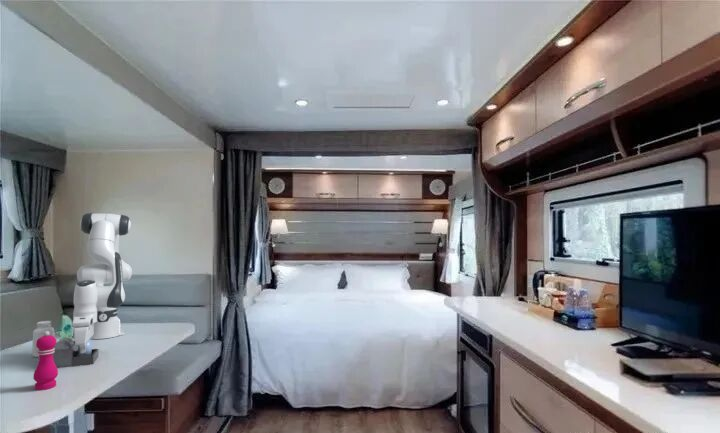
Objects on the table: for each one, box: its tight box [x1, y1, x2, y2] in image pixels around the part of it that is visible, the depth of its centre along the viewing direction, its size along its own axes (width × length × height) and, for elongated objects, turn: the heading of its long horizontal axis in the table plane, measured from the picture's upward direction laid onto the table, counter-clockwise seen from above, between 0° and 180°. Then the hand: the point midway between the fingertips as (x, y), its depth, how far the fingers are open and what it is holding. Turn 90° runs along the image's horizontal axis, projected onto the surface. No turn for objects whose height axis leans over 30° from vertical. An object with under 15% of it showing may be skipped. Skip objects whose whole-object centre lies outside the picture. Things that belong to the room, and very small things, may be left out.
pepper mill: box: [32, 331, 59, 391], centre depth 158 cm, size 7×7×20 cm
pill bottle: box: [31, 320, 55, 358], centre depth 199 cm, size 8×8×15 cm
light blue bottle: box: [78, 339, 93, 357], centre depth 189 cm, size 5×5×9 cm
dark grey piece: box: [53, 337, 99, 368], centre depth 187 cm, size 13×16×10 cm
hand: (84, 350), depth 189 cm, fingers closed on light blue bottle, 5 cm apart
